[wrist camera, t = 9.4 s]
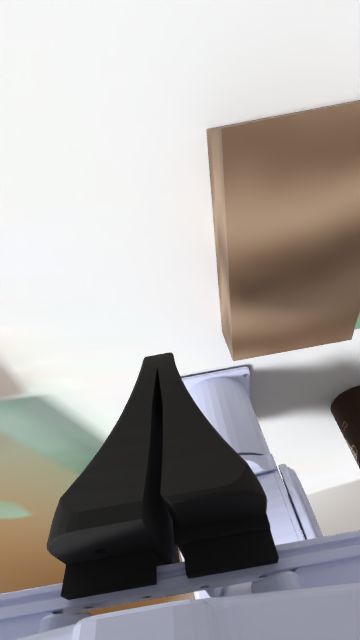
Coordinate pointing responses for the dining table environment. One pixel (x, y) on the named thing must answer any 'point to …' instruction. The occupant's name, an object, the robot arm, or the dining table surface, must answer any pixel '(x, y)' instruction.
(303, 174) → the brown flat block
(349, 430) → the coffee mug
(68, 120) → the dining table surface
